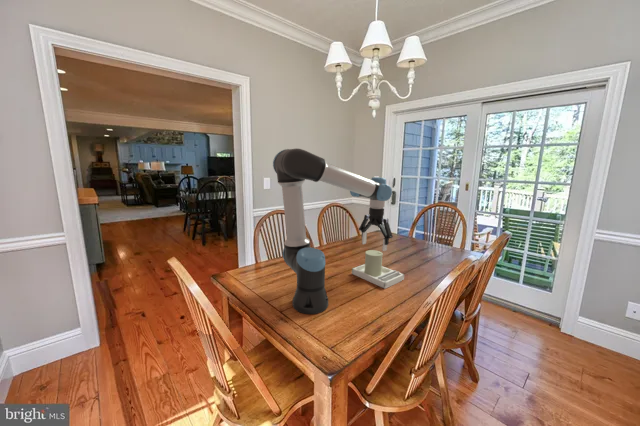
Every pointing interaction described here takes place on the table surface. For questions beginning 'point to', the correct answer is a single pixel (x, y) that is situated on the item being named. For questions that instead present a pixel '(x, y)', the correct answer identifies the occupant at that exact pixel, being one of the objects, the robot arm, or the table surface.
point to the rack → (384, 279)
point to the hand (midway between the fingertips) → (373, 247)
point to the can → (373, 263)
